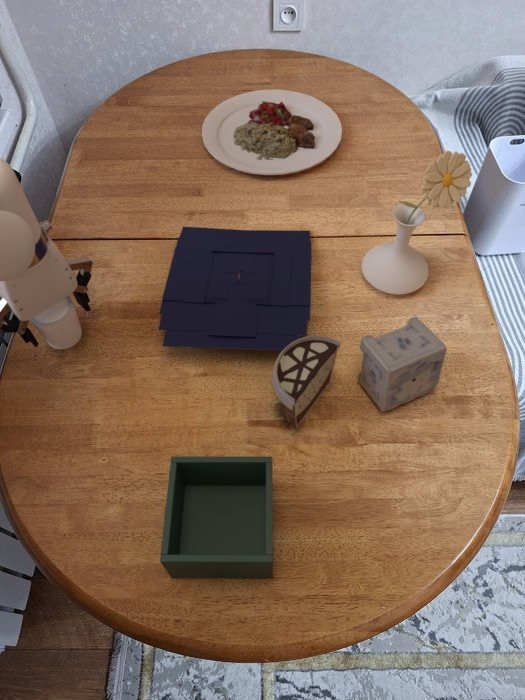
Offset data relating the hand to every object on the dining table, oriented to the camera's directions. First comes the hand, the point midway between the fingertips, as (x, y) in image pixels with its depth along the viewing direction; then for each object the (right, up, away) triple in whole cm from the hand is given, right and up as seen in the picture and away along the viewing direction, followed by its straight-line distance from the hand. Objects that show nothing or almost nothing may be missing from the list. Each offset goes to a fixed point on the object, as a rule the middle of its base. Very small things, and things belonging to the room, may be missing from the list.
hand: (58, 323), depth 87 cm
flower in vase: (+56, +9, +9) cm, 57 cm away
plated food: (+34, +42, +32) cm, 63 cm away
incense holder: (+52, -9, -4) cm, 53 cm away
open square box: (+27, -27, -16) cm, 42 cm away
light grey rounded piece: (0, -2, +3) cm, 3 cm away
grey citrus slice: (+37, -11, -4) cm, 39 cm away
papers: (+28, +6, +7) cm, 30 cm away
